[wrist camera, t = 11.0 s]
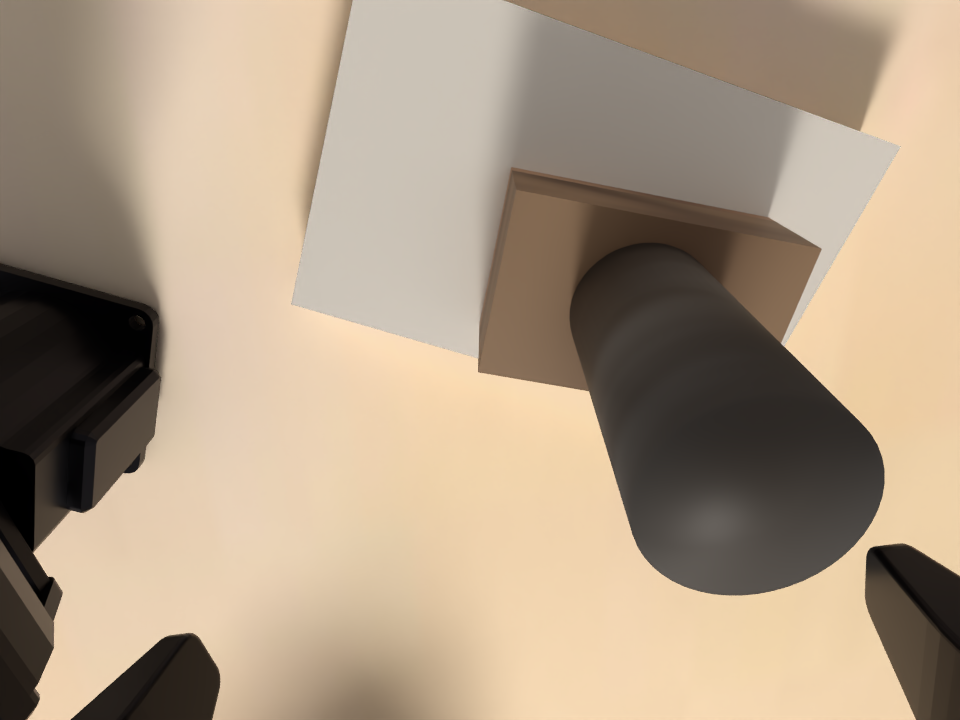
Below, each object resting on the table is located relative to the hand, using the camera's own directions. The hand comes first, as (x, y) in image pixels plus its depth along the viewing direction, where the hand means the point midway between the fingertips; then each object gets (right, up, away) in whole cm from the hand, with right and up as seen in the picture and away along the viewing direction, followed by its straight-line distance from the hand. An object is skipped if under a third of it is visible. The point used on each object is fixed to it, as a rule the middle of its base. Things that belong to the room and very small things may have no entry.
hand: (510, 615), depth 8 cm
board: (+2, +8, +11) cm, 13 cm away
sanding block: (+3, +6, +9) cm, 11 cm away
